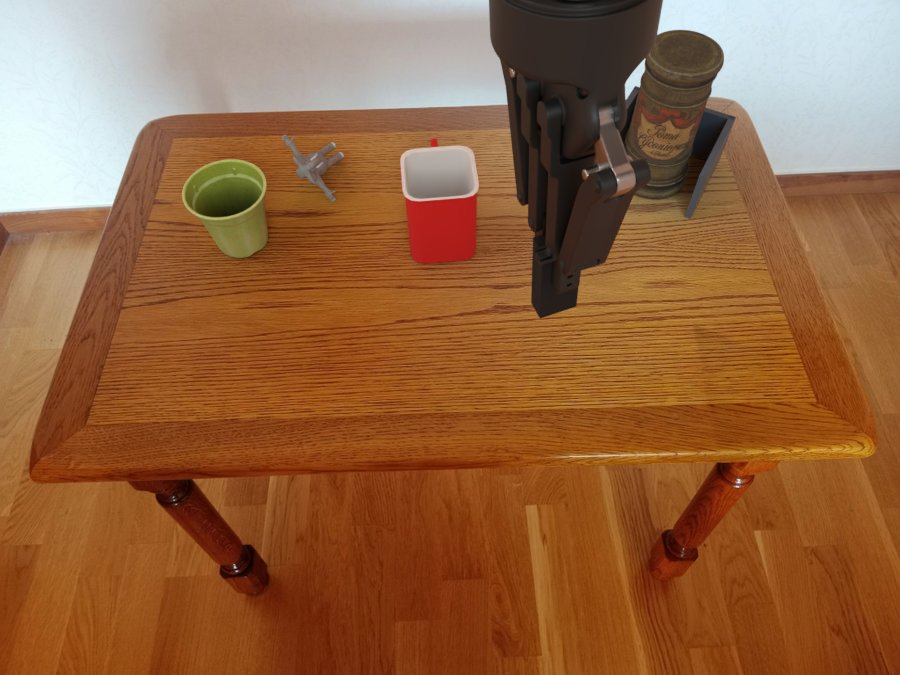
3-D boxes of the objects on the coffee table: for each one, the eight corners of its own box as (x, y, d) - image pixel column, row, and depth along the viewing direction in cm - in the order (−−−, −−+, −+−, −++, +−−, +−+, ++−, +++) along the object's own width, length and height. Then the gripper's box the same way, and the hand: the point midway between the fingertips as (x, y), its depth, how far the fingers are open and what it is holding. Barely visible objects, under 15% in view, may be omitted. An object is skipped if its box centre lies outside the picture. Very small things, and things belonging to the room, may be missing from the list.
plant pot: (288, 212, 89) (272, 159, 82) (275, 270, 84) (258, 219, 76) (214, 211, 89) (192, 158, 82) (197, 269, 84) (172, 218, 77)
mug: (479, 261, 84) (481, 196, 75) (409, 267, 83) (403, 202, 75) (468, 189, 90) (469, 122, 82) (404, 194, 90) (397, 127, 81)
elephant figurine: (373, 171, 93) (339, 196, 86) (345, 194, 96) (310, 220, 89) (325, 107, 91) (285, 128, 84) (298, 132, 94) (258, 154, 87)
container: (613, 149, 94) (641, 24, 79) (681, 153, 93) (723, 28, 78) (614, 198, 89) (645, 74, 74) (687, 202, 88) (732, 78, 73)
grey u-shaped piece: (690, 218, 87) (706, 176, 81) (591, 183, 91) (599, 140, 85) (719, 160, 93) (736, 116, 87) (624, 129, 96) (635, 85, 90)
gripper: (442, -88, 33) (469, 255, 52) (560, 61, 25) (541, 398, 44) (590, -125, 34) (563, 226, 53) (746, 9, 26) (649, 360, 45)
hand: (553, 304), depth 49 cm, fingers closed
